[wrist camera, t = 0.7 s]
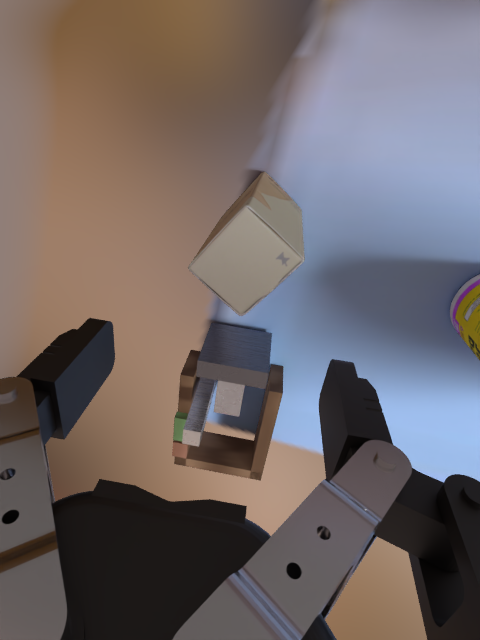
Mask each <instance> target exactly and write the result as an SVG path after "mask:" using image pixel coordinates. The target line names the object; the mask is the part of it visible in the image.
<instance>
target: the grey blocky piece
mask: <svg viewBox="0 0 480 640" xmlns="http://www.w3.org/2000/svg"><path fill="white" fill-rule="evenodd" d="M271 337H272V333H268V332H262V331H256V330H251V329H245V328H240V327H234V326H228V325H223V324H217V323H211V326H210V328H209V331H208V334H207V336H206V339H205V342H204V345H203V347H202V350H201V353H200V355H199V358H198V361H197V372H196V376H197V377H201V378H200V381H199V384H198V387H197V390H196V393H195V396H194V399H193V402H192V405H191V408H190V411H189V414H188V417H187V420H186V423H185V426H184V429H183V439H182V444H188V445H193V446H198V447H199V445H200V442H201V438H202V434H203V430H204V427H205V423H206V419H207V416H208V412H209V408H210V405H211V401H212V397H213V394H214V390H215V386H216V382H217V380H218V384H217V392H216V399H215V407H214V412H216V413H221V414H227V415H232V416H237V417H239V415H240V409H241V404H242V399H243V393H244V388H245V385H246V386H251V387H256V388H262V389H265V388H266V383H267V379H268V374H269V363H270V350H271Z"/></svg>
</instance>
